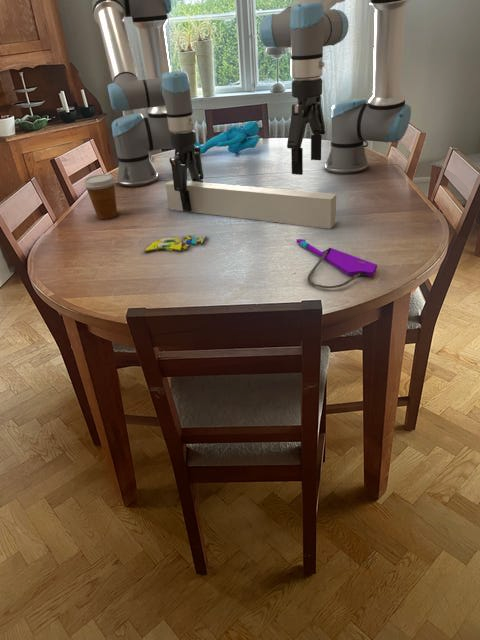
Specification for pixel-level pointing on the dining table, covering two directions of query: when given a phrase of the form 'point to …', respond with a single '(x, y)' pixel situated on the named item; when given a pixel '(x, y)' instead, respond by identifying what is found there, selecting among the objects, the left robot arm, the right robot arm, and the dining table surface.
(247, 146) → the toy
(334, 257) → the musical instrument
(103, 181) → the disposable coffee cup
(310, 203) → the bar
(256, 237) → the dining table surface
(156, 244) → the toy
